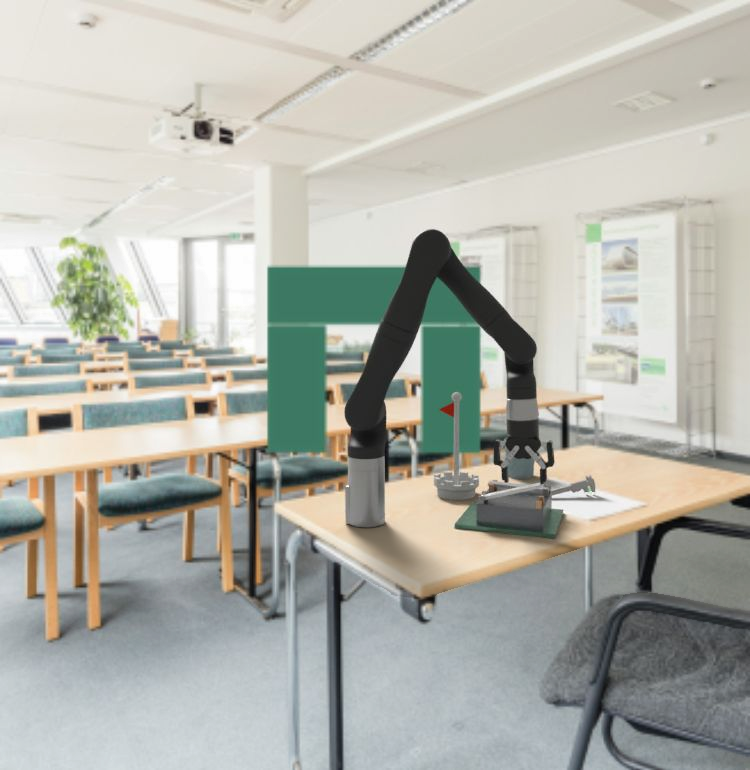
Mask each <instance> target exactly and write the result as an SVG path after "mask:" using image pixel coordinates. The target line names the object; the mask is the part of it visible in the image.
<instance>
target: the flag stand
mask: <svg viewBox="0 0 750 770" xmlns="http://www.w3.org/2000/svg"><path fill="white" fill-rule="evenodd" d="M462 399H463V395H462V394H461V393H460V392H458V391H455V392H453V393H452V394H451V400H452V401H453V402H451V403H448V404H447V405H445V406H443V407H441V408H439V409H438V411H440V412H442V413H444V414H446V415H449V416H450V417H452V418H453V471H443V475H441V473H439V472H438V473H436V474H434V475H433V485H434V487H436V495H437V496H438V497H439V496H440V497H439V498H442V499H445V500H456V501H457V500H458V501H461V500H469V499H473V498H475V497H476V489H477V488H478V487H480V478H479V475H478V474H476V473H471V476H470V475H469V472H468V471H461V470H460V402H461V401H462Z"/></svg>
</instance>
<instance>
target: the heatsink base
mask: <svg viewBox="0 0 750 770" xmlns="http://www.w3.org/2000/svg"><path fill="white" fill-rule="evenodd" d="M491 481H498V480H497V479H492V480H491ZM551 485H552V484H550V483H544V487H549V488H550V490H549V489H546V488H543V493H541V492H533V491H525V492H520V493H516V494H511V495H506V496H501V497H497V498H492V499H487V500H485V496H482V494H488V493H493V492H498V491H502V490H507V489H508V488H500V487H494V484H489V486H488V489H487V490H482V491H481V495H478V497H477V501H472V502H471V503H470V505H469V506H468V507H467V508H466V510H465V511H463V513H462V514H461V516H460V517H459V518H458V519H457V521H455V522H454V529H461V530H462V529H463V530H471V531H480V532H488V533H496V534H497V533H499V534H500V533H501V534H508V535H517V536H519V535H520V536H526V537H536V538H537V537H538V538H546V539H553V540H555V539H556V537H557V534H558V531H559V528H560V525H561V522H562V520H563V517H564V514H563V511H564V510H565V509H562V508H553V507H552V504H553V502H552V500H553V499H552V496H553V495H552V491H551V490H552V489H551V488H552V487H551ZM562 516H563V517H562Z"/></svg>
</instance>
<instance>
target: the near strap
mask: <svg viewBox="0 0 750 770" xmlns="http://www.w3.org/2000/svg"><path fill="white" fill-rule="evenodd" d="M525 485H526V486H521V487H516V488H512V489H507V490H502V491H498V492H493V493H488V494H482V493H481V496H485V500H487V499H492V498H497V497H501V496H506V495H511V494H516V493H520V492H525V491H530V490H535V489H539V488H543V487H545V483H544V484H540V482H535V483H532V484H531V483H530V484H525Z"/></svg>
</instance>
